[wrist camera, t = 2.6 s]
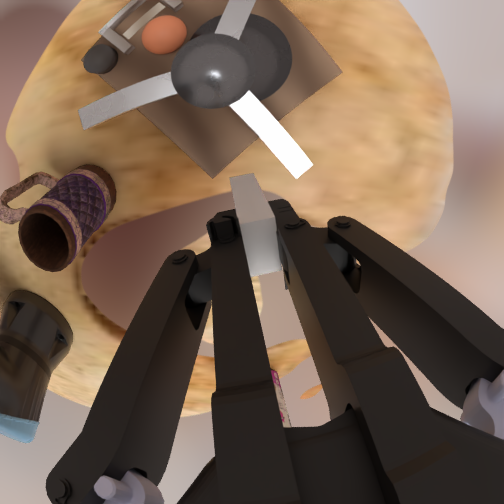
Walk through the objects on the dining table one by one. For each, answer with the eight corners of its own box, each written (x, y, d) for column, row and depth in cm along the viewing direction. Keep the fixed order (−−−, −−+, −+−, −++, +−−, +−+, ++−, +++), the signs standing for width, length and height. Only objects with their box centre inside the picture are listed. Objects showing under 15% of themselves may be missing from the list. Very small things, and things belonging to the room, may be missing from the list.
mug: (128, 185, 27) (88, 237, 17) (100, 230, 29) (62, 293, 19) (64, 137, 23) (-1, 167, 12) (41, 186, 25) (-16, 232, 15)
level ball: (165, 64, 20) (157, 59, 16) (138, 42, 18) (127, 34, 14) (197, 37, 19) (194, 27, 15) (169, 15, 17) (163, 2, 13)
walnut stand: (212, 174, 28) (212, 184, 25) (86, 61, 19) (72, 58, 16) (336, 73, 23) (351, 71, 20) (214, -44, 14) (215, -59, 11)
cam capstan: (215, 213, 29) (218, 254, 22) (102, 112, 21) (64, 120, 14) (349, 101, 24) (394, 107, 17) (246, -13, 16) (260, -49, 9)
